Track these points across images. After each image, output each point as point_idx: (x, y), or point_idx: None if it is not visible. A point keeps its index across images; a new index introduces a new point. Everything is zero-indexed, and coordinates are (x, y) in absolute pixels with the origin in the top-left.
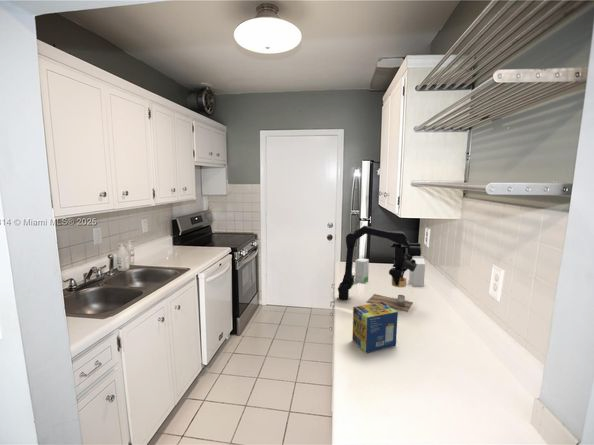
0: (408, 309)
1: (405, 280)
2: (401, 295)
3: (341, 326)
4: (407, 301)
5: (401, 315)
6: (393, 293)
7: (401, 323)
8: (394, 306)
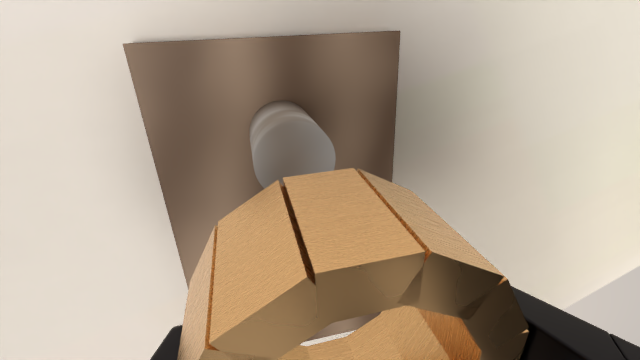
0: (344, 38)
1: (433, 250)
2: (276, 168)
3: (635, 263)
4: (151, 107)
5: (421, 70)
6: (4, 290)
7: (543, 29)
8: (347, 163)
